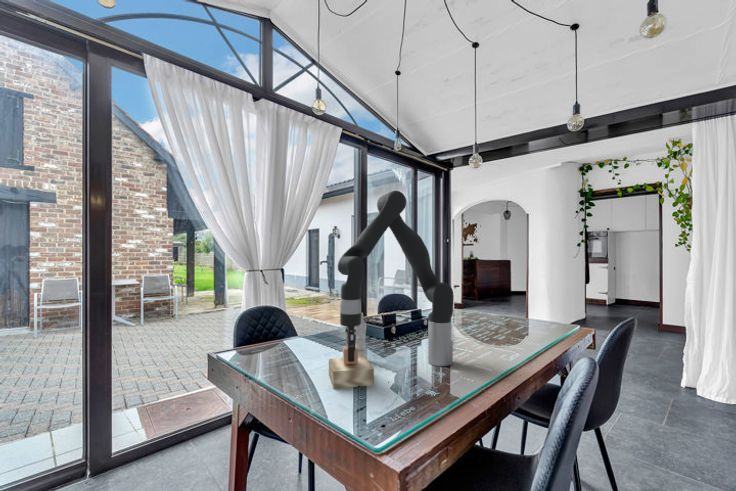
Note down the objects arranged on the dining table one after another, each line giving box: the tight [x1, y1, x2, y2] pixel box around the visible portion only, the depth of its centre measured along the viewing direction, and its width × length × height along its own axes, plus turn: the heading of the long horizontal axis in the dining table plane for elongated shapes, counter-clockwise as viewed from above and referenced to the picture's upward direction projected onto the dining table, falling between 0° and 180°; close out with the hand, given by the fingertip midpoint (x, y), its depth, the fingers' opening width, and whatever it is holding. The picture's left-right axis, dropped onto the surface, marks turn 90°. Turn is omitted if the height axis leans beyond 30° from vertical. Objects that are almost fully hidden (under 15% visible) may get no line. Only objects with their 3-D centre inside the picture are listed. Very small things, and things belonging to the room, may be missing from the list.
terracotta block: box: [342, 345, 358, 364], centre depth 123 cm, size 5×5×5 cm
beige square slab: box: [328, 357, 375, 390], centre depth 123 cm, size 14×14×6 cm
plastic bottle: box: [354, 312, 368, 358], centre depth 143 cm, size 6×7×20 cm
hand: (350, 358), depth 123 cm, fingers closed on terracotta block, 5 cm apart
